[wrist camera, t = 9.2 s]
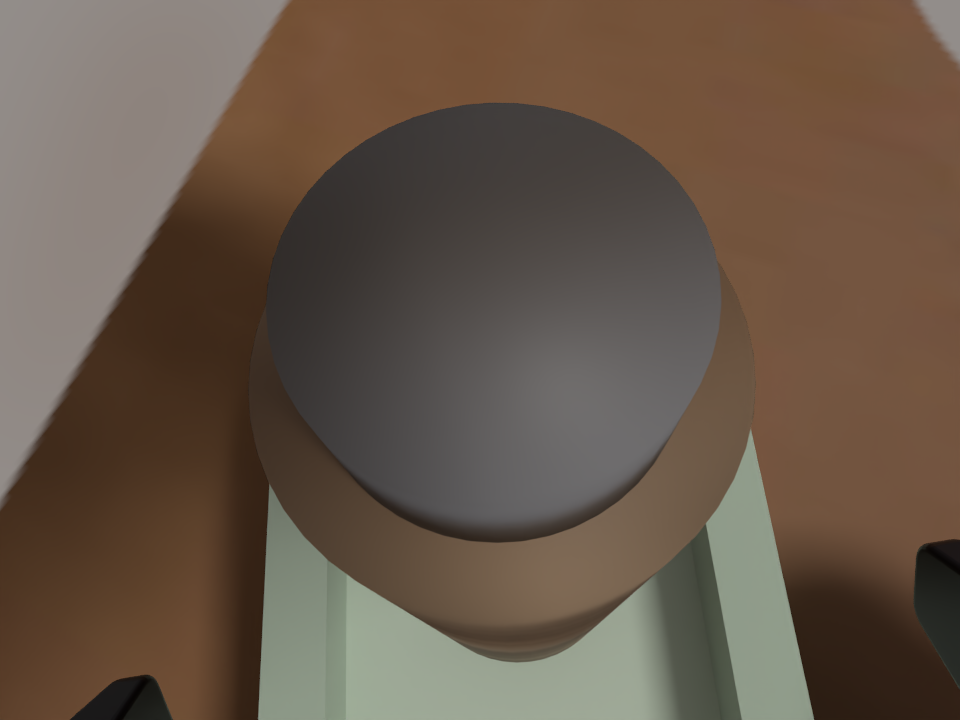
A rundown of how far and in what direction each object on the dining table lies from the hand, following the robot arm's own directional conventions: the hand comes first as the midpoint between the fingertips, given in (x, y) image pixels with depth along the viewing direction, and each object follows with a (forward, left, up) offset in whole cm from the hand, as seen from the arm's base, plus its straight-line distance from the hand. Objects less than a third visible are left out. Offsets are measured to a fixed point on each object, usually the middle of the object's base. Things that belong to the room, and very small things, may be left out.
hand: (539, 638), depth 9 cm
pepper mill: (+3, 0, -11) cm, 11 cm away
